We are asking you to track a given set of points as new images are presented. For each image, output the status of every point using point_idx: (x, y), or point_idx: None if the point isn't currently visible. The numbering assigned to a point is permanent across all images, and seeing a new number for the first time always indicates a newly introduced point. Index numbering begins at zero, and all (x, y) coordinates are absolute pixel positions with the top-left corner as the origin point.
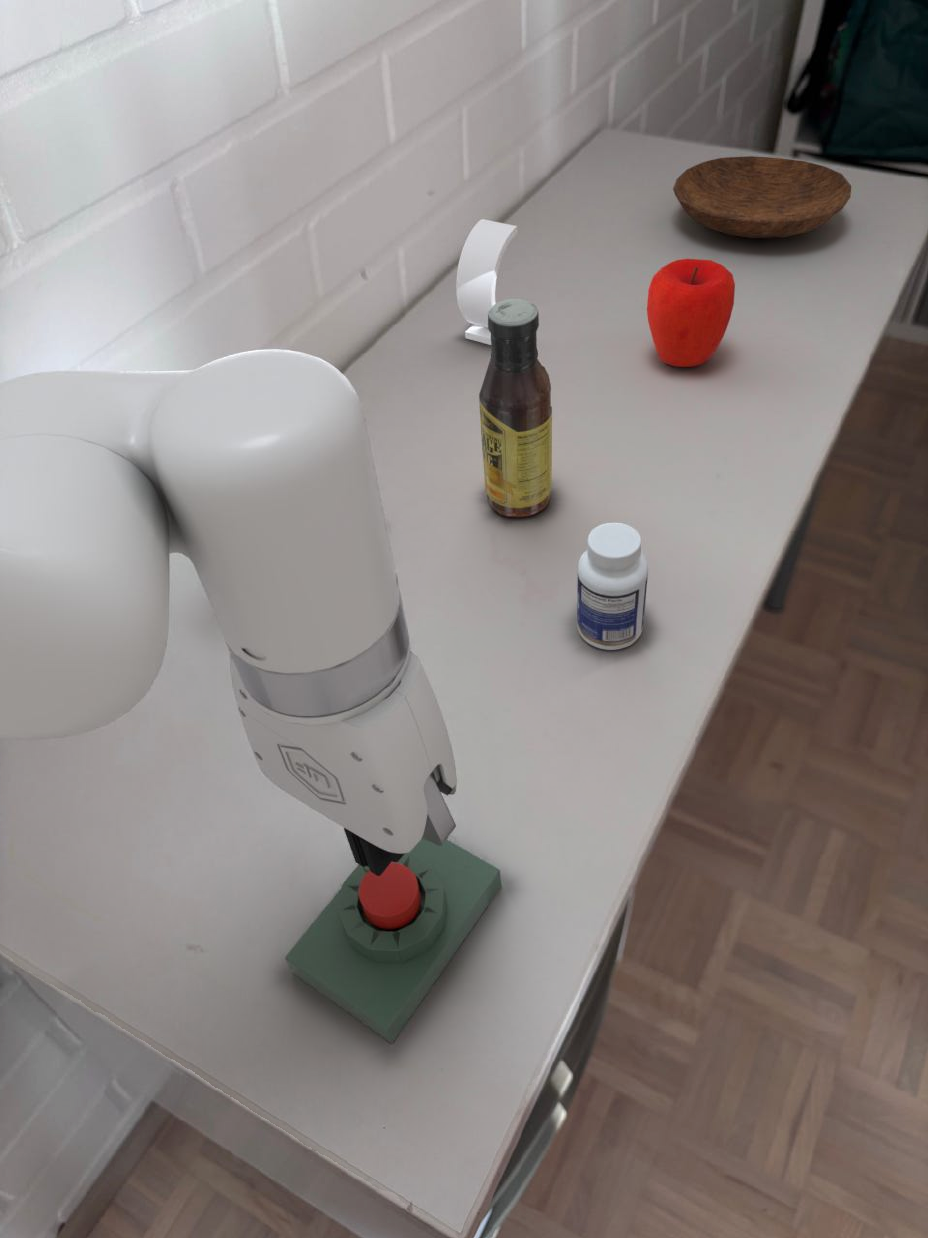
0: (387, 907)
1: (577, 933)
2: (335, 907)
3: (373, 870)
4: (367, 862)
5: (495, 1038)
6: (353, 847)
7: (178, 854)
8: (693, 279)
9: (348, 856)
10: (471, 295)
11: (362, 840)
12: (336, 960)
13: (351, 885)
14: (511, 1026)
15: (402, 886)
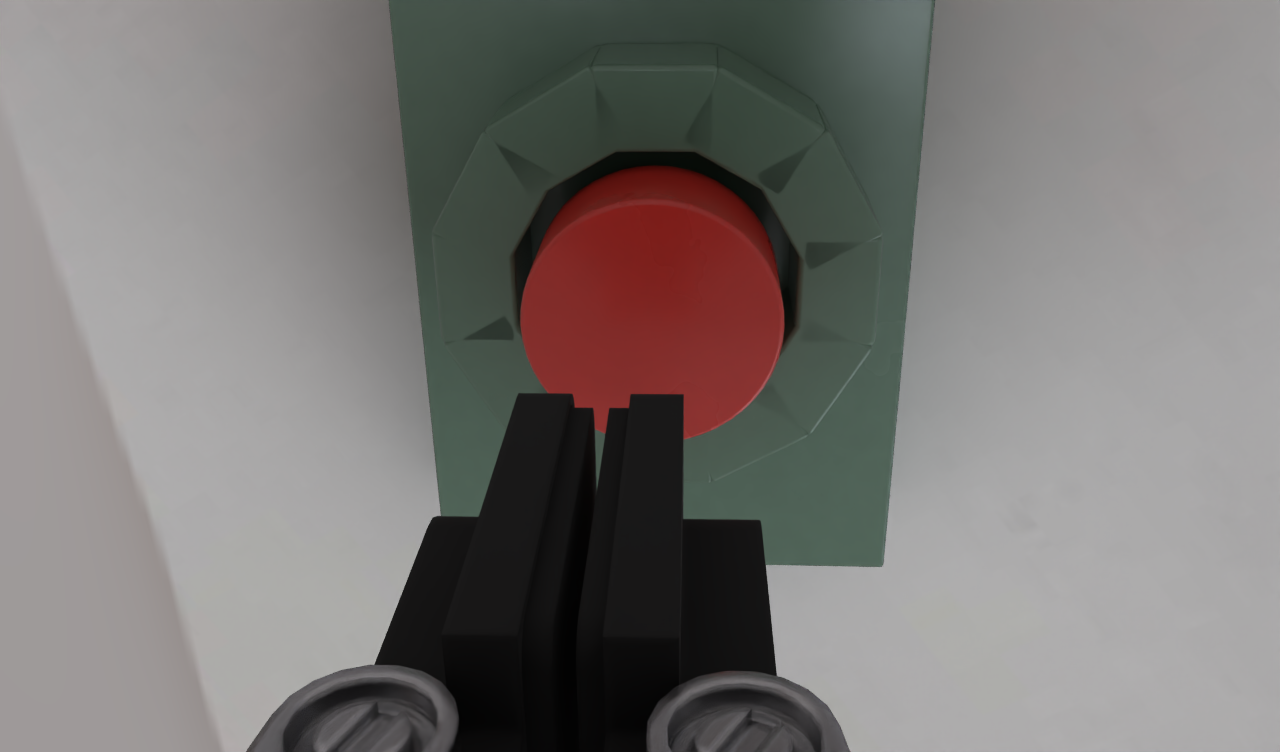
0: (595, 259)
1: (184, 485)
2: (884, 142)
3: (533, 414)
4: (559, 446)
5: (145, 75)
6: (648, 500)
7: None
8: None
9: (999, 330)
10: None
11: (484, 629)
12: None
13: (842, 253)
14: (134, 138)
15: (604, 366)
